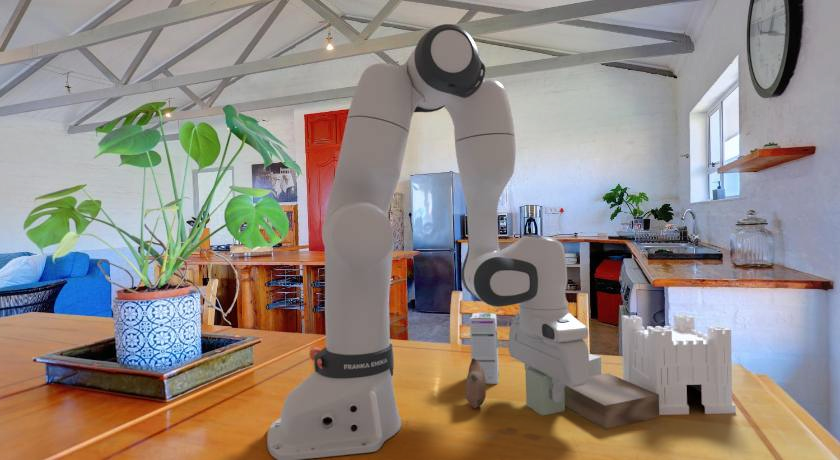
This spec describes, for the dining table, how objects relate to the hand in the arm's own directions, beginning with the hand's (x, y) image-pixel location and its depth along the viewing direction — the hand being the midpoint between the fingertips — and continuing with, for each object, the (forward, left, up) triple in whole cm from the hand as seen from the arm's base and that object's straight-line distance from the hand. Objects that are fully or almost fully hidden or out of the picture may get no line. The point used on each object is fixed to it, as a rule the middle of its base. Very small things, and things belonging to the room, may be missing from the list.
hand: (544, 394), depth 82 cm
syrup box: (-3, +18, -3) cm, 18 cm away
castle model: (+26, -6, -3) cm, 26 cm away
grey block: (+15, +7, -3) cm, 17 cm away
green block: (0, 0, -3) cm, 3 cm away
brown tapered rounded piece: (-11, +7, -3) cm, 13 cm away
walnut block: (+10, -5, -3) cm, 11 cm away
